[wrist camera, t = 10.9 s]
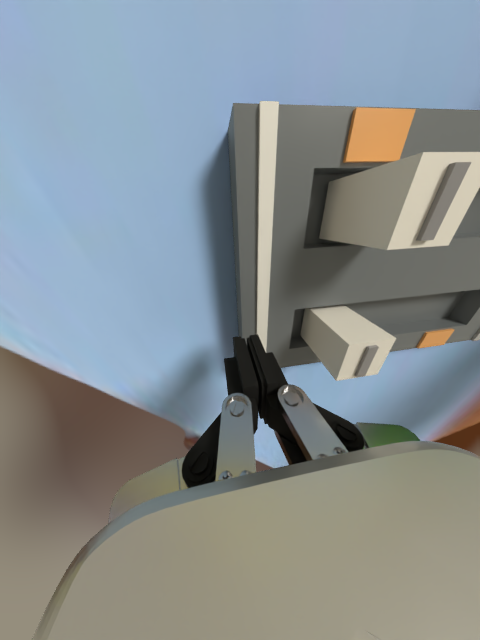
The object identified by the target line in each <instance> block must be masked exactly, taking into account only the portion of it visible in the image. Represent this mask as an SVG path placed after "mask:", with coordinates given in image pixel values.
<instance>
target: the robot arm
mask: <svg viewBox="0 0 480 640" xmlns="http://www.w3.org/2000/svg"><path fill="white" fill-rule="evenodd" d="M233 345H234V357H233V358H225V359H224V362H225V371H226V380H227V389H228V397H226V398H225V400H224V401H223V404H222V412H221V413H220V415H219V416H218V417H217V418H216V419H215V421H214V422H213V423H212V424H211V425H210V427H209V428H208V429H207V430H206V431H205V433H204V434H203V435H202V436H201V437H200V439H199V440H198V441H197V442H196V444H195V445H194V446H193V447H192V448H191V450H190V451H189V452H188V453H187V455H186V456H185V457H183V458H180V459H178V460H177V458H176V459H174V460H172V461H169V462H167V463H165V464H163V465H161V466H159V467H157V468H154V469H152V470H150V471H148V472H146V473H144V474H142V475H139V476H137V477H135V478H133V479H131V480H129V481H128V482H126V483H125V484H124V485H123V486H122V487H121V488H120V489H119V490H118V492H117V494H116V495H115V497H114V499H113V502H112V505H111V508H110V515H109V521H108V525H106V526H105V527H104V528H103V529H102V530H100V531H99V532H98V533H97V534H96V535H95V536H94V537H93V538H91V539H90V540H89V542H88V543H87V544H86V545H85V546H84V547H83V548H82V549H81V550H80V551H79V553H78V554H77V555H76V557H75V558H74V560H73V561H72V563H71V564H70V565H69V567H68V569H67V570H66V572H65V574H64V576H63V577H62V579H61V581H60V583H59V585H58V586H57V588H56V590H55V592H54V594H53V596H52V598H51V600H50V602H49V604H48V606H47V608H46V610H45V612H44V614H43V616H42V619H41V621H40V623H39V625H38V627H37V629H36V631H35V634H34V636H33V638H32V640H480V457H479V456H477V455H475V454H473V453H471V452H469V451H466V450H463V449H460V448H457V447H454V446H450V445H446V444H442V443H436V442H430V441H420V440H419V439H418V437H417V436H416V435H415V434H414V433H412V432H411V431H410V430H408V429H406V428H404V427H402V426H399V425H390V424H375V423H359V422H357V423H356V424H352V423H350V422H349V421H347V420H345V419H343V418H341V417H339V416H337V415H335V414H333V413H331V412H329V411H328V410H326V409H324V408H322V407H320V406H318V405H316V404H314V403H312V402H311V400H310V399H309V398H308V396H307V395H306V394H305V392H304V391H303V390H302V389H301V388H299V387H297V386H295V385H289V384H288V383H287V381H286V379H285V377H284V375H283V373H282V371H281V368H280V366H279V364H278V362H277V360H276V358H275V356H274V354H273V353H272V352H269V353H266V352H265V350H264V347H263V345H262V343H261V340H260V338H259V336H258V334H256V335H250V336H249V338H247V344H246V341H245V338H242V337H241V336H240V337H233ZM258 412H259V416H260V419H262V418H263V419H264V422H265V424H268V426H269V427H270V428H272V429H273V430H274V432H275V435H276V437H277V440H278V442H279V444H280V446H281V448H282V450H283V453H284V455H285V457H286V459H287V461H288V464H289V465H288V466H284V467H279V468H274V469H270V470H265V471H261V472H256V463H255V449H254V434H255V432H256V430H257V425H258Z"/></svg>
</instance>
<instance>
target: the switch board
mask: <svg viewBox="0 0 480 640" xmlns="http://www.w3.org/2000/svg"><path fill="white" fill-rule="evenodd" d="M228 143H229V162H230V180H231V199H232V218H233V237H234V256H235V274H236V293H237V312H238V331H239V337H240V336H241V337H242V338H245V341H246V344H247V338H249V336H250V335H256V334H258V336H259V338H260V340H261V343H262V345H263V347H264V350H265V352H266V353H269V352H272V353H273V354H274V356H275V358H276V360H277V362H278V364H279V366H280V368H282V367H289V366H295V365H302V364H309V363H316V362H321V361H320V360H319V358H318V357H317V356H316V354H315V353H314V352H313V351H312V349H311V348H310V347H309V346H308V344H307V343H306V342H305V340H304V339H303V338H302V337H301V335H300V334H301V328H302V322H303V317H304V311H305V308H313V307H322V306H332V305H341V304H343V305H345V306H346V307H348V308H350V309H351V310H353V311H354V312H356V313H357V314H359V315H361V316H362V317H364V318H365V319H367V320H369V321H370V322H372V323H373V324H375V325H376V326H378V327H380V328H381V329H383V330H384V331H386V332H387V333H389V334H391V335H392V336H394V337H395V338H396V340H395V342H394V344H393V346H392V348H391V350H390V351H389V352H391V351H398V350H404V349H411V348H424V347H431V346H438V345H444V344H445V343H452V342H459V341H466V340H472V341H476V340H480V188H479V190H478V191H477V193H476V195H475V197H474V199H473V201H472V203H471V204H470V206H469V208H468V210H467V212H466V214H465V216H464V217H463V219H462V221H461V223H460V225H459V227H458V229H457V230H456V232H455V234H454V236H453V238H452V240H451V242H450V243H449V245H448V246H434V247H421V248H407V249H393V250H384V249H378V248H372V247H367V246H361V245H355V244H349V243H343V242H337V241H331V240H326V239H320V238H319V236H320V230H321V224H322V219H323V213H324V207H325V202H326V196H327V190H328V185H329V182H330V181H334V180H337V179H340V178H343V177H346V176H349V175H353V174H356V173H359V172H362V171H365V170H368V169H372V168H375V167H378V166H381V165H384V164H387V163H391V162H394V161H397V160H400V159H403V158H406V157H409V156H413V155H416V154H419V153H422V152H480V110H454V109H419V108H384V107H350V106H315V105H280V104H279V102H273V101H260V103H259V104H245V103H233V107H232V112H231V117H230V122H229V127H228Z"/></svg>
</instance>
